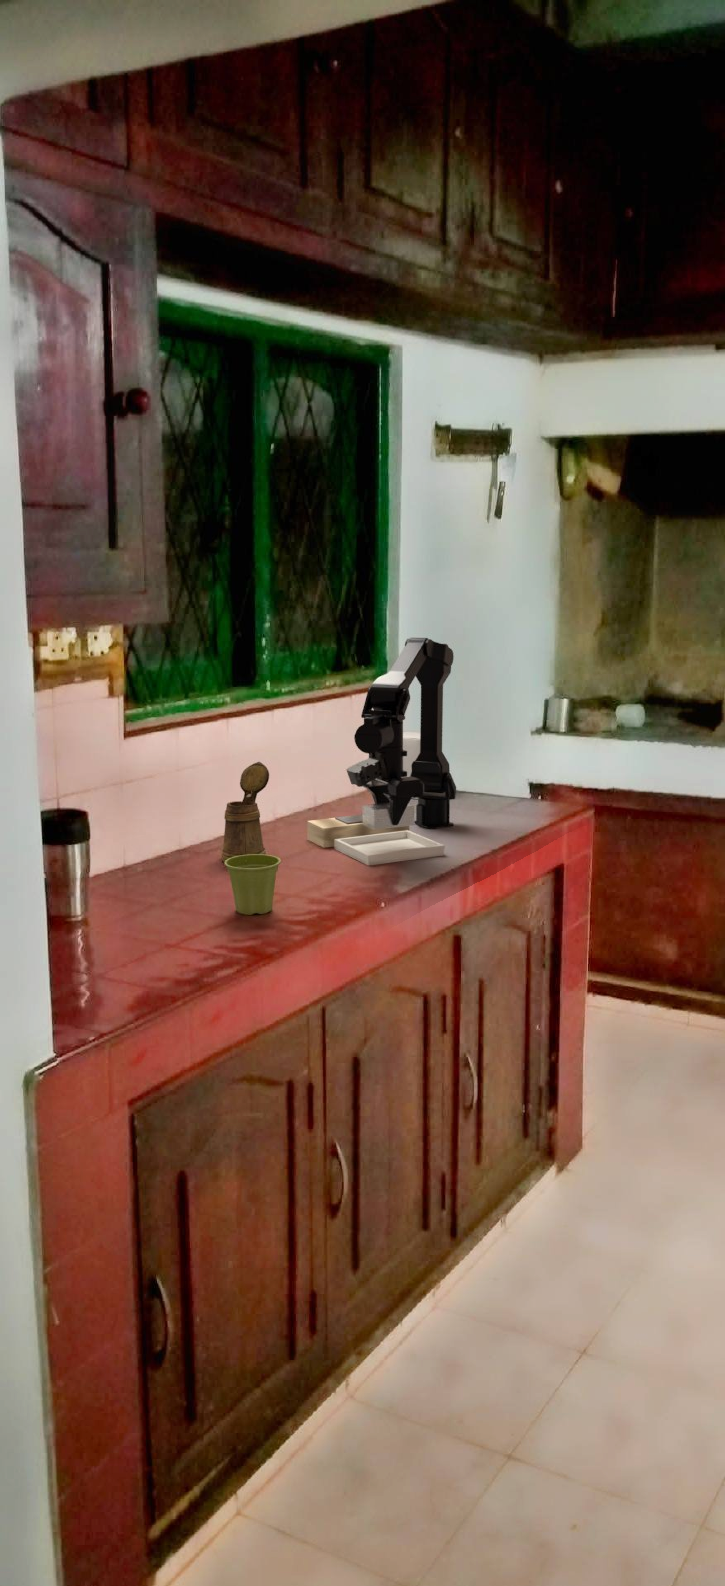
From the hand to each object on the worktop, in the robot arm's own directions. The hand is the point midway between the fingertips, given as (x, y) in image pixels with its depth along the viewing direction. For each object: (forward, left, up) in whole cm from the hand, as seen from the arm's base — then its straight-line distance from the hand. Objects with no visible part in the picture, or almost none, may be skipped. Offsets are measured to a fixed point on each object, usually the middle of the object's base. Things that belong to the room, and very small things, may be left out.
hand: (388, 822), depth 249 cm
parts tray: (0, 0, -6) cm, 6 cm away
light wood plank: (0, -13, -6) cm, 15 cm away
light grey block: (0, 0, 0) cm, 1 cm away
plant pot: (+39, +25, -6) cm, 47 cm away
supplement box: (-32, -47, -6) cm, 58 cm away
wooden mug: (+26, -10, -6) cm, 29 cm away
